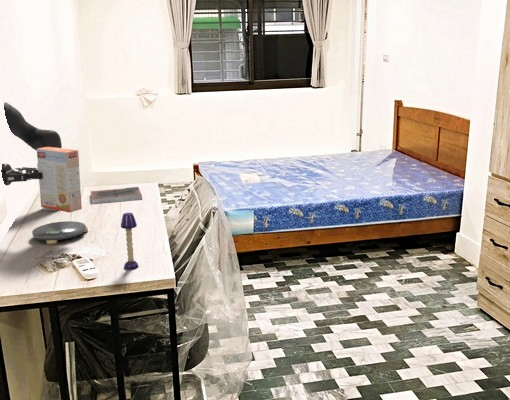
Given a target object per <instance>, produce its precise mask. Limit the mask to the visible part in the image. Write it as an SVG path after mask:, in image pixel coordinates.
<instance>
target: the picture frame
mask: <svg viewBox="0 0 510 400" xmlns="http://www.w3.org/2000/svg"><path fill="white" fill-rule="evenodd" d="M90 196H91V204H92V205H94V204H103V203H104V204H106V203H116V202H115V201H117V202H124V201H123V200H128V201H133V200H132V199H138V200H142V199H143V194H142V192H141V191H140V188H139V187H138V186H133V187H126V188H123V187H122V188H115V189H101V190H91V191H90ZM141 198H142V199H141Z"/></svg>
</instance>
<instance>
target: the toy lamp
mask: <svg viewBox="0 0 510 400" xmlns="http://www.w3.org/2000/svg"><path fill="white" fill-rule="evenodd" d="M120 228H121V229H124V230H125V232H126V233H125V236H126V239H125V240H126V247H127V248H126V250H127V254H126V255H127V261H126V262H125V263H124V266H123V268H124V269H125V270H134V269H135V270H136V269H137V268H138V267H139V264H138V262H137V261H136V260H135V258H134V246H133V244H134V243H133V233H132V231H133V229H134V228H137V221H136V218H135V215H134V214H133V213H132V212H125V213H122V218H121V222H120Z"/></svg>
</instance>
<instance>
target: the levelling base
mask: <svg viewBox="0 0 510 400" xmlns="http://www.w3.org/2000/svg"><path fill="white" fill-rule="evenodd" d="M88 228H89V227H88V226H87V225H86V224H85V223H83V222H80V221H71V220H70V221H69V220H68V221H64V220H63V221H57V222H50V223H46V224H43V225H40V226H37V227H35V228H34V229H32V231H31V232H32V233H31V234H32V237H33V238H34V239H36V240H41V241H46V245H47V246H56V245H58V244H59V242H58V240H59V241H61V240H65V239H66V240H67V239H71V238H74V237H77V236H80V235H84V234H87V233H88V232H89V229H88Z"/></svg>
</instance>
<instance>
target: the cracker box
mask: <svg viewBox="0 0 510 400" xmlns="http://www.w3.org/2000/svg"><path fill="white" fill-rule="evenodd" d="M36 156H37V157H36V158H37V164H38V166H37V170H38V172H41V173H42V175H43V178H42V179H38V183H39V192H40V193H39V194H40V195H39V196H40V197H39V199H40V207H41V208H43V207H44V208H49V209H54V210H56V211H60V212H66V213H73V212H77V211H79V210H82V191H81V189H82V188H81V174H80V157H79V150H78V149H71V148H70V149H69V148H55V147H44V148H38V149H37V151H36Z"/></svg>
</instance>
